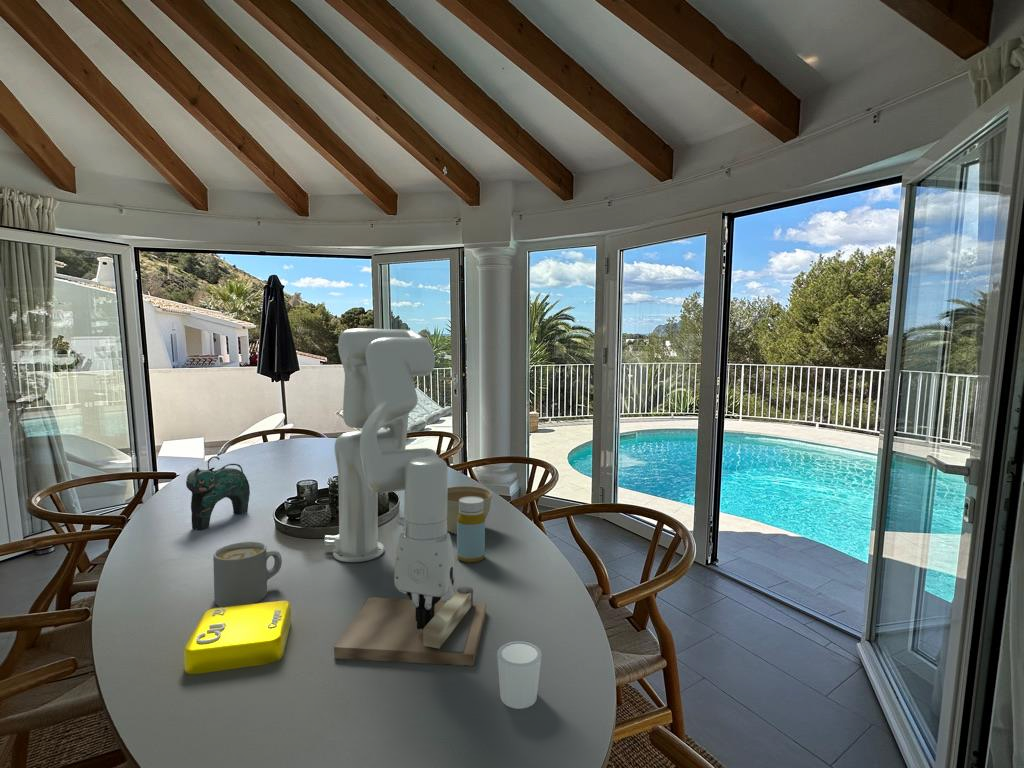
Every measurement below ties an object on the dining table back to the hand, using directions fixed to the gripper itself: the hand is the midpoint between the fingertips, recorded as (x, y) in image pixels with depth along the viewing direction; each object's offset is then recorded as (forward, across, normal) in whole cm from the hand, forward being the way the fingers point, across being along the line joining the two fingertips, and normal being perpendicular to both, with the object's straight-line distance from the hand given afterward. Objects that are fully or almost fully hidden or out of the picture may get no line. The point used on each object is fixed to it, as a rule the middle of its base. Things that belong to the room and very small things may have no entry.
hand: (424, 625), depth 96 cm
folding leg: (+1, +3, +4) cm, 5 cm away
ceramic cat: (+5, -88, +39) cm, 96 cm away
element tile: (+4, -30, -11) cm, 33 cm away
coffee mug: (+4, -43, +5) cm, 44 cm away
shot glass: (+3, +20, -9) cm, 22 cm away
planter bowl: (+4, -16, +56) cm, 59 cm away
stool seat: (+3, -3, +2) cm, 5 cm away
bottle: (+4, -6, +38) cm, 39 cm away
